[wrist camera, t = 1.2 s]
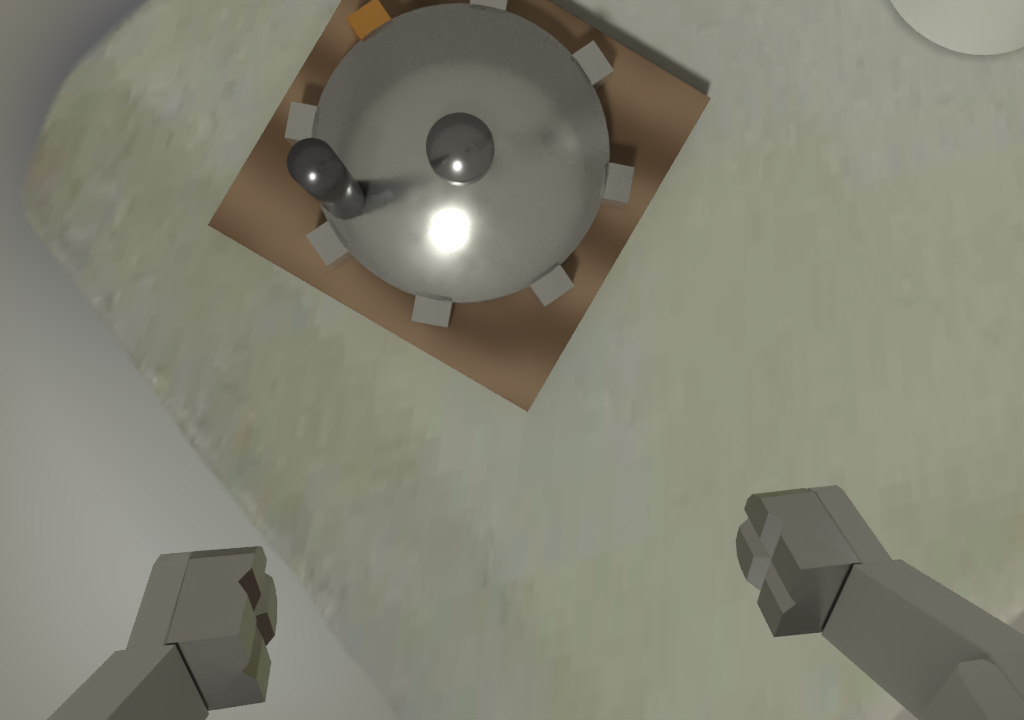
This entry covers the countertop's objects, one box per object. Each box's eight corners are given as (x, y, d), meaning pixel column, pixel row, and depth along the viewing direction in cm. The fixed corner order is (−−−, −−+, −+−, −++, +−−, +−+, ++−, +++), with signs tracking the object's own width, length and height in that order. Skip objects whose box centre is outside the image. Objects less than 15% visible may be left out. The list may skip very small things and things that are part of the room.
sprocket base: (401, -81, 46) (394, -115, 43) (705, 102, 47) (722, 82, 43) (217, 229, 46) (196, 219, 42) (526, 410, 46) (529, 413, 43)
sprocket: (402, -67, 44) (378, -184, 35) (684, 103, 45) (737, 33, 35) (234, 216, 44) (163, 177, 34) (520, 384, 44) (528, 390, 35)
